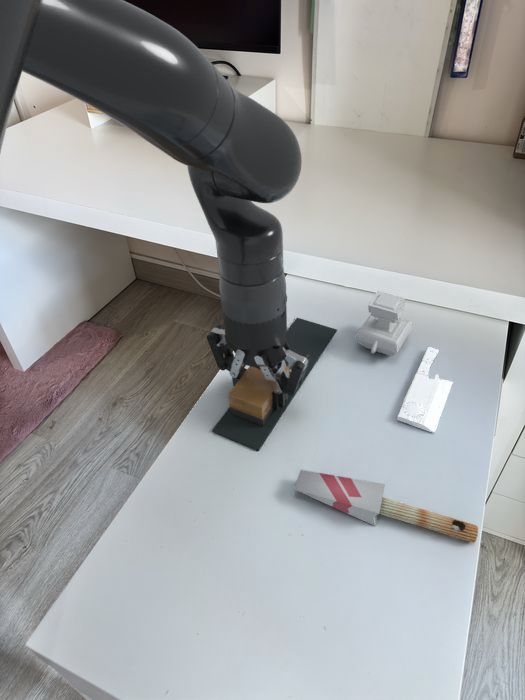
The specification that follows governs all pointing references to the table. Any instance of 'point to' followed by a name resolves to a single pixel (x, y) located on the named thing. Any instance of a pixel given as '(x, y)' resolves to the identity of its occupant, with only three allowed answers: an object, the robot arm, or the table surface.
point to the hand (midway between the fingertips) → (260, 398)
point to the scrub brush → (252, 397)
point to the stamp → (384, 325)
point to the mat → (253, 435)
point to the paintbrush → (375, 503)
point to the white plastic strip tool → (425, 396)
